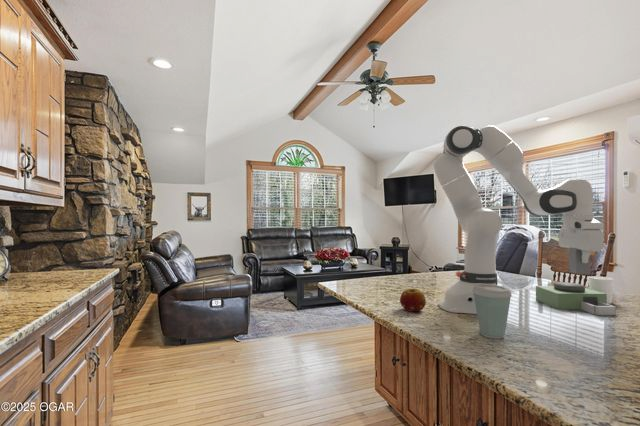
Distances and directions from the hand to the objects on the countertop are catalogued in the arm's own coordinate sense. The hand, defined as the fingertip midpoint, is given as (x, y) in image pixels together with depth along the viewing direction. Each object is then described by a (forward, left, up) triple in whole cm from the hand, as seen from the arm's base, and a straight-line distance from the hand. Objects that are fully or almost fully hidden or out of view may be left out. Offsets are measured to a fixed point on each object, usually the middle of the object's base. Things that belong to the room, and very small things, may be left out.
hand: (579, 261), depth 117 cm
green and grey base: (+6, +11, -19) cm, 23 cm away
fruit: (-59, +4, -20) cm, 62 cm away
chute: (0, 0, -4) cm, 4 cm away
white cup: (+22, +20, -20) cm, 35 cm away
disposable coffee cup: (-41, -22, -20) cm, 50 cm away
